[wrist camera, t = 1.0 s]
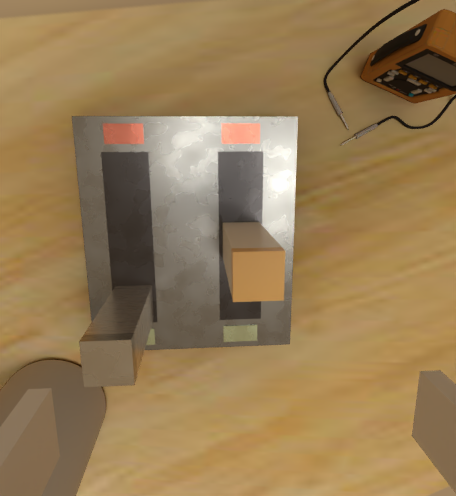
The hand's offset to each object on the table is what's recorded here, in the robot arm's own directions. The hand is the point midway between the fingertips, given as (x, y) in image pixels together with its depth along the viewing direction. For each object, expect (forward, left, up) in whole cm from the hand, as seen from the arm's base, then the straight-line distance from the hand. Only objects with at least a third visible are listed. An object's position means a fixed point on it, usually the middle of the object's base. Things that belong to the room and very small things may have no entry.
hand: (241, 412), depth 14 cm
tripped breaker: (-3, 0, -29) cm, 29 cm away
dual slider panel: (+2, 0, -32) cm, 32 cm away
